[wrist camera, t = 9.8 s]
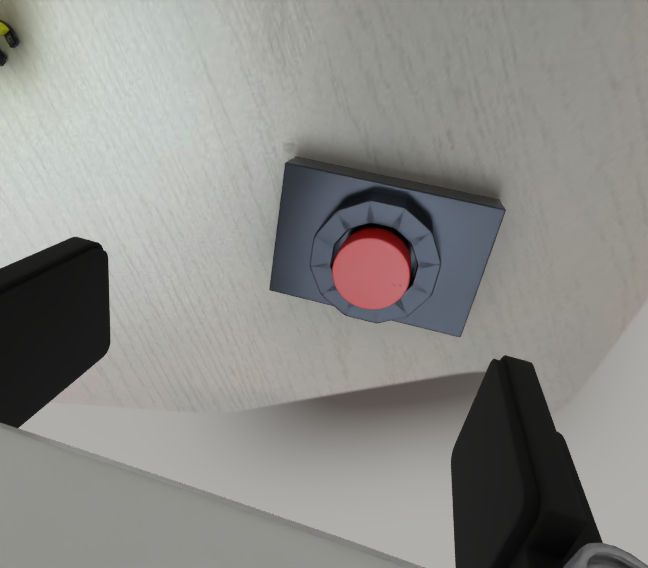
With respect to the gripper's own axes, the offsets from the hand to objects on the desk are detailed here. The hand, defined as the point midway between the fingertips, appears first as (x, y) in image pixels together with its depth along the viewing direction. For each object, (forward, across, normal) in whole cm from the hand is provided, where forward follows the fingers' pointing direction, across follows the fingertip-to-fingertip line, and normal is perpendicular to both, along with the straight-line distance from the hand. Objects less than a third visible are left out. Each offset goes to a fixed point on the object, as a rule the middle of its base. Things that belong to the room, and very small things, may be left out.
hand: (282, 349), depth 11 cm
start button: (+14, -1, +3) cm, 15 cm away
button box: (+18, -1, +3) cm, 18 cm away
